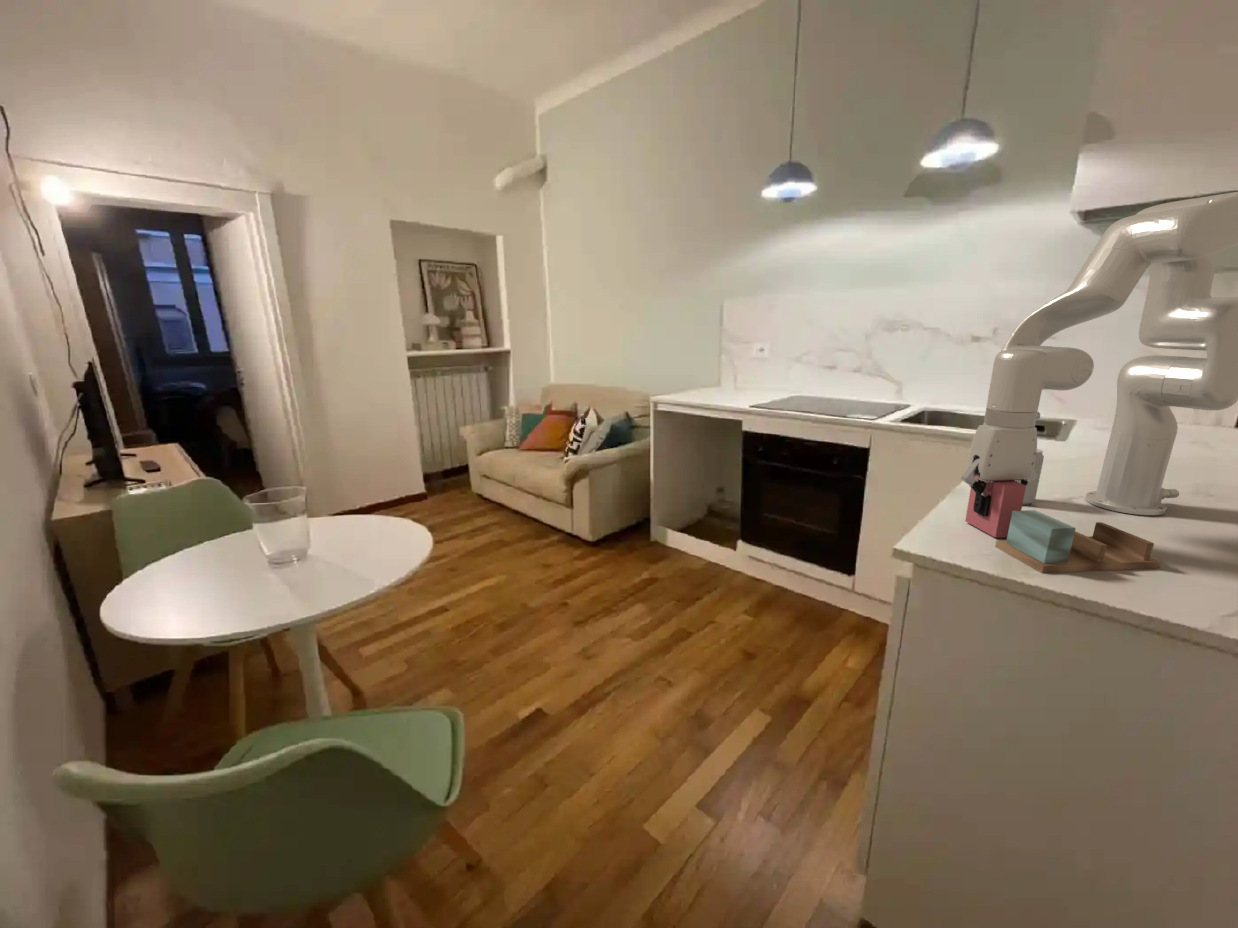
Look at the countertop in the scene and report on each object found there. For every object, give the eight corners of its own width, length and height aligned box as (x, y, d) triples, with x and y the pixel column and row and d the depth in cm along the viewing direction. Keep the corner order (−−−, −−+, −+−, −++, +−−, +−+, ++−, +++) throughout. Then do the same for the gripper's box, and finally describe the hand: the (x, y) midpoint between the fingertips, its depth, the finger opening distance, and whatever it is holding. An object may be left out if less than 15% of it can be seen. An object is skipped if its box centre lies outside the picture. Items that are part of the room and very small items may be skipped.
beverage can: (1035, 507, 111) (1047, 453, 108) (999, 502, 115) (1009, 450, 111) (1032, 499, 117) (1043, 447, 113) (997, 494, 120) (1007, 444, 117)
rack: (1101, 542, 94) (1110, 505, 92) (1159, 567, 85) (1171, 526, 83) (995, 546, 93) (1002, 509, 91) (1041, 572, 84) (1051, 531, 82)
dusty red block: (984, 520, 104) (993, 472, 101) (1016, 536, 96) (1026, 485, 94) (965, 521, 104) (973, 473, 101) (995, 537, 96) (1004, 486, 94)
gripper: (1036, 413, 98) (1018, 504, 103) (951, 417, 98) (937, 508, 103) (1072, 421, 91) (1051, 518, 96) (980, 425, 90) (963, 522, 95)
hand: (992, 512), depth 99 cm, fingers closed on dusty red block, 4 cm apart
